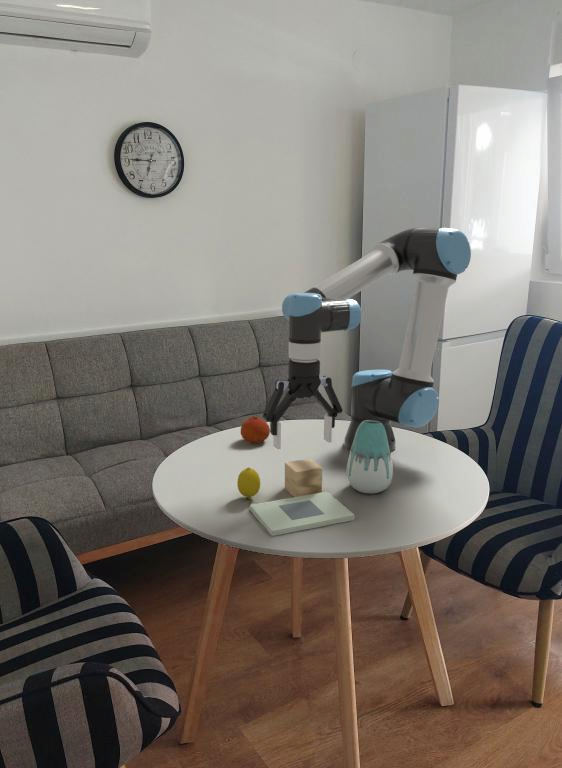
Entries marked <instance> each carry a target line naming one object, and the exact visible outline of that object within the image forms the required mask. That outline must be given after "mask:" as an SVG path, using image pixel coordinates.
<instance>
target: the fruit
mask: <svg viewBox="0 0 562 768" xmlns="http://www.w3.org/2000/svg"><path fill="white" fill-rule="evenodd" d="M270 434H271V433H270V425H269V424H268V423H267V422H266V420H265V419H264V418H263V419H262V418H260V417H258V416H256V415H253V416H250V417H249V418H247V419H245V421H244V422H243V423H242V424H241V427H240V435H241V438H242V439H243V440H244V441H246V442H247V443H249V444H258V443H261V442H264V441H265V440H267V439H268V438H269V436H270Z"/></svg>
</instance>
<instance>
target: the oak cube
mask: <svg viewBox="0 0 562 768" xmlns="http://www.w3.org/2000/svg"><path fill="white" fill-rule="evenodd" d="M284 489H285V490H286V491H287V492H288V493H289V494H290V495H291V496H293V497H298V496H304V495H310V494H315V493H321V492H323V467H322V466H321V465H320V464H318V463H317V462H315V461H314V460H312V459H311V458H304V459H299V460H293V461H292V460H291V461H285V462H284Z"/></svg>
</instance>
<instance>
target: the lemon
mask: <svg viewBox="0 0 562 768" xmlns="http://www.w3.org/2000/svg"><path fill="white" fill-rule="evenodd" d="M237 477H238V478H237V485H236V486H237V489H238V492H239V493H240V494H241V495H242V496H243V497H246V498H247V499H252V498H253V497H254V496H256V495H257V494H258V493H259V491H260V488H261V478H260V474H259V473H258V472H257V470H255V469H254V468H251V467H246V468H245V469H243V470H241V472H240V473H239V474H238V476H237Z"/></svg>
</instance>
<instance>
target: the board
mask: <svg viewBox="0 0 562 768" xmlns="http://www.w3.org/2000/svg"><path fill="white" fill-rule="evenodd" d="M249 511H250V512H251V513H252V514H253V515H254V517H255V518H256V519H257V521H259V522H260V524H261V525H262V526H263V527H264V528H265V530H266V531H267V532H268V533H269V534H270V535H271V536H272V537H275V536H280V535H285V534H289V533H290V534H291V533H294V532H295V533H296V532H300V531H305V530H310V529H314V528H315V529H316V528H320V527H325V526H330V525H335V524H339V523H344V522H350V521H354V520H355V514H354V513H353V512H352V511H351V510H349V509H348V508H347V507H346V506H344V505H343V503H341V502H340V501H339V500H337V499H336V498H335V497H334V496H332V494H330V493H329V492H328V491H322V492H321V493H315V494H310V495H304V496H298V497H294V496H293V497H288V498H283V499H277V500H272V501H271V500H270V501H265V502H260V503H252V504H249Z"/></svg>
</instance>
